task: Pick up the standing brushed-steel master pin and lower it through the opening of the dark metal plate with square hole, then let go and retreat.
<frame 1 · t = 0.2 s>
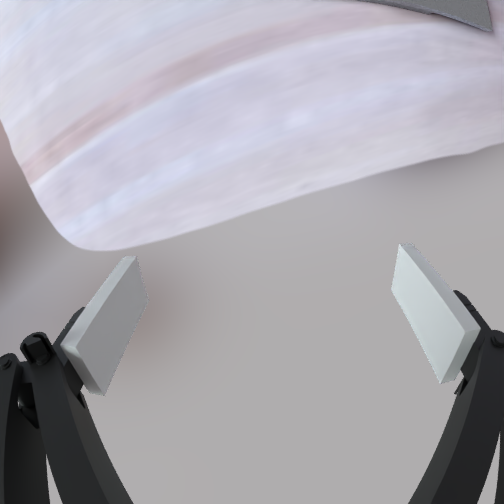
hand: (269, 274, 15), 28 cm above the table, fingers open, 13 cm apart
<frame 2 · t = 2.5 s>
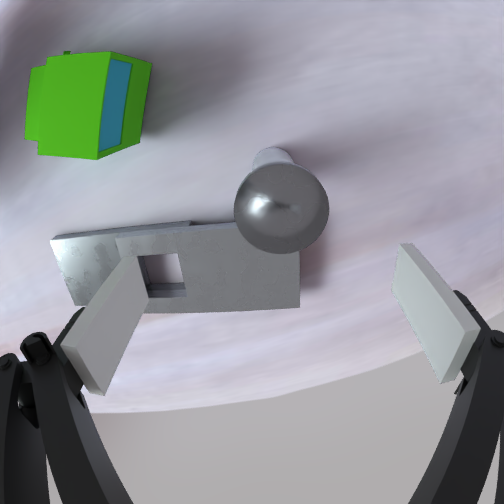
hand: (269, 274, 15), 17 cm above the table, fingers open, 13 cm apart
plate with square hole: (166, 263, 35), on the table
master pin: (273, 166, 29), on the table
toy car: (95, 100, 26), on the table
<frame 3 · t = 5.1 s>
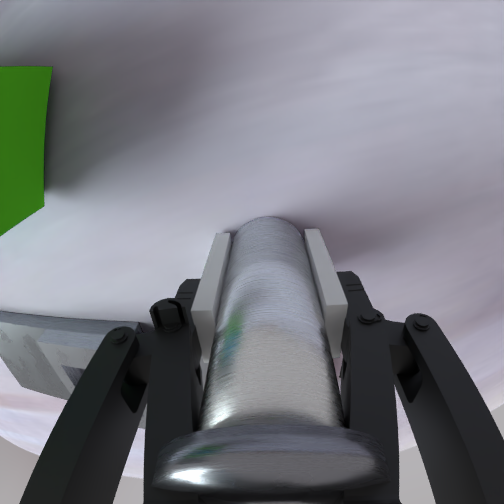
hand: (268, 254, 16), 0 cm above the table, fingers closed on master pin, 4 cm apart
plate with square hole: (114, 365, 22), on the table
master pin: (268, 251, 17), on the table, touching gripper
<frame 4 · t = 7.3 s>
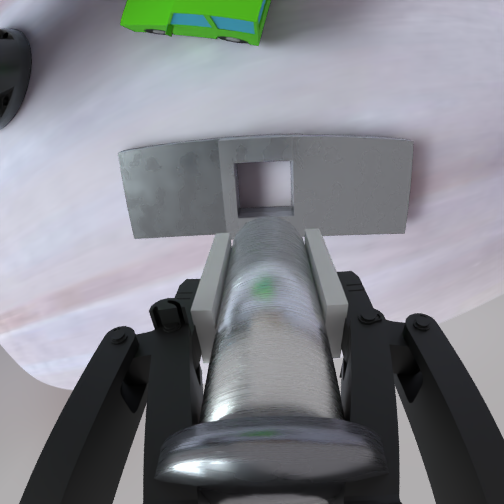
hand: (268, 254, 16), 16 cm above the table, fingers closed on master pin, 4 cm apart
plate with square hole: (264, 182, 31), on the table
master pin: (268, 250, 17), point 16 cm above the table, touching gripper
toy car: (203, 5, 23), on the table
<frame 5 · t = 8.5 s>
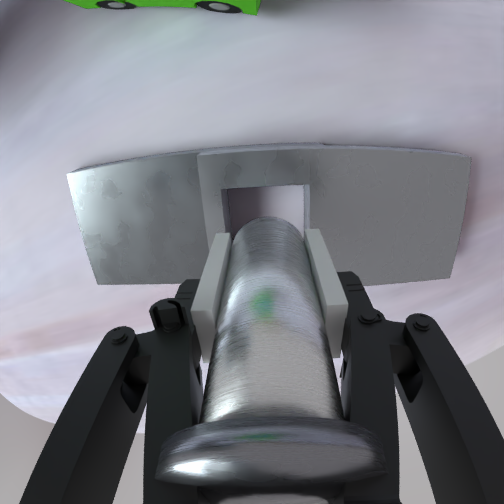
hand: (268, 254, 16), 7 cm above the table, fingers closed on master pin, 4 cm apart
plate with square hole: (266, 211, 22), on the table
master pin: (268, 250, 17), point 6 cm above the table, touching gripper
when the fingers open (3 cm above the table, at t = 9.4 s): master pin drops 2 cm, resting in plate with square hole.
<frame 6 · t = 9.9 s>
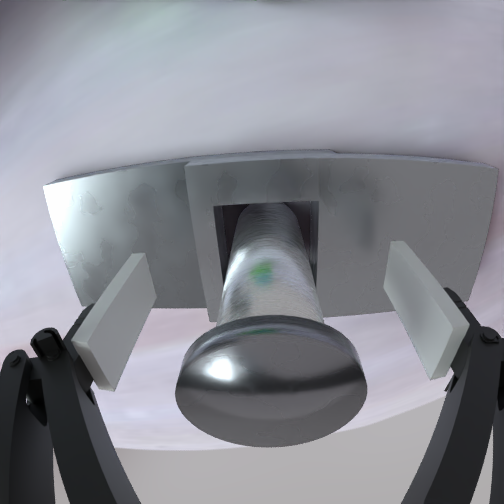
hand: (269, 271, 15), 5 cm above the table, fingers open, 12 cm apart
plate with square hole: (267, 229, 19), on the table
master pin: (267, 229, 19), resting in plate with square hole
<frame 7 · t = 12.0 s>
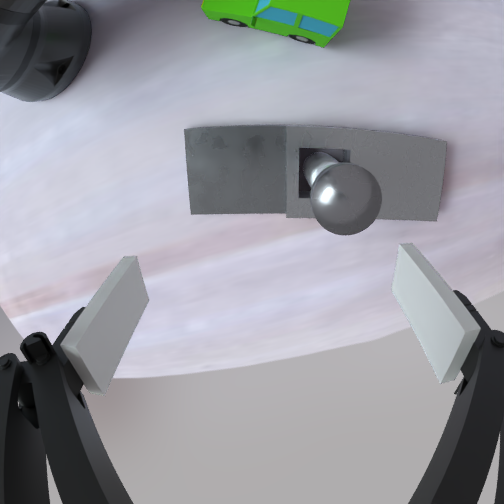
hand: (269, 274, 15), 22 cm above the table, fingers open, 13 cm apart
plate with square hole: (319, 168, 33), on the table
master pin: (319, 168, 33), resting in plate with square hole
toy car: (273, 5, 25), on the table
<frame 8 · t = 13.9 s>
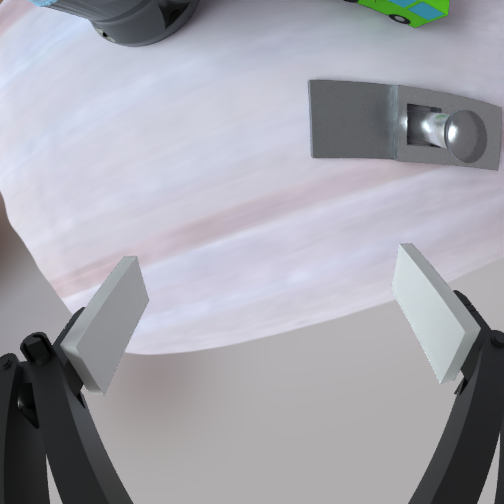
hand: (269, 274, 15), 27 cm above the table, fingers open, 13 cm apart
plate with square hole: (414, 123, 34), on the table
master pin: (414, 124, 34), resting in plate with square hole
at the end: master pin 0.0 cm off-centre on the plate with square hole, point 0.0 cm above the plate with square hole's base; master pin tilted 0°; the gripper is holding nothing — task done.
